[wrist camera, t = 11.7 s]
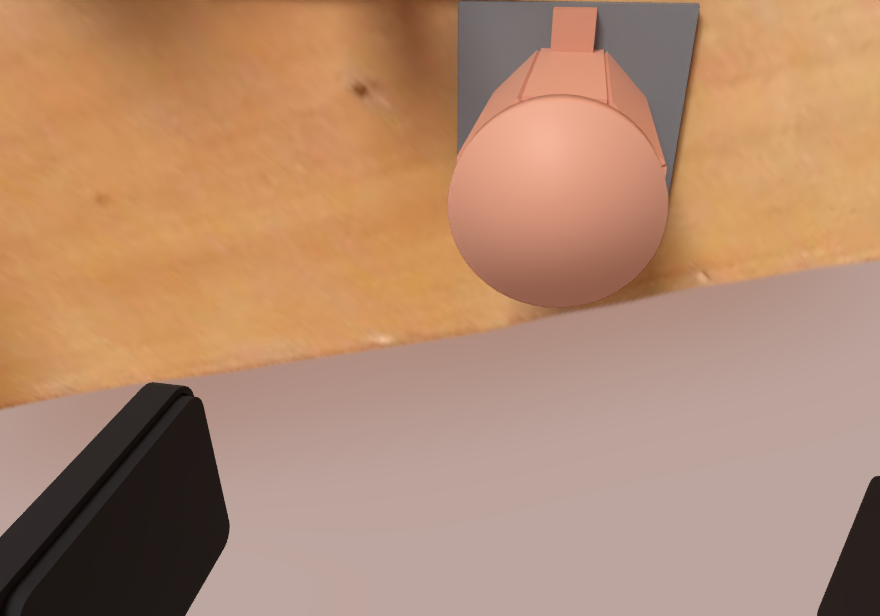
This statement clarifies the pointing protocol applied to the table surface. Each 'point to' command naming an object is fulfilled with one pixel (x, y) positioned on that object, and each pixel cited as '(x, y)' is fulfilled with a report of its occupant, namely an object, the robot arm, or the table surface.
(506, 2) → the coaster
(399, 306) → the table surface
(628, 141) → the salmon domed faceted piece
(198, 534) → the robot arm
